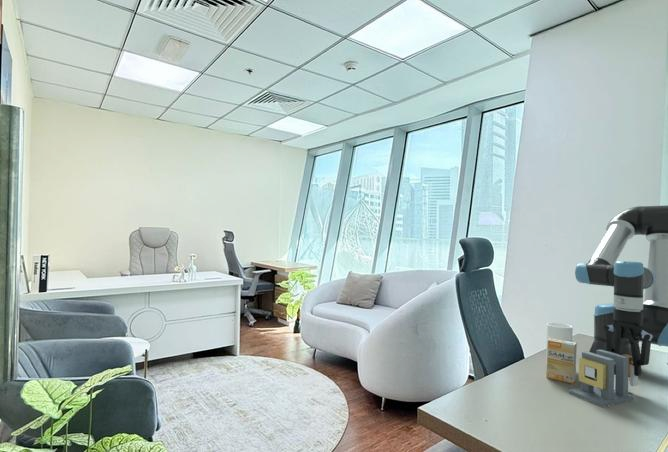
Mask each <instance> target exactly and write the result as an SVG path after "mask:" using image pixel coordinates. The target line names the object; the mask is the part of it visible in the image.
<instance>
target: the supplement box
mask: <svg viewBox="0 0 668 452" xmlns="http://www.w3.org/2000/svg"><path fill="white" fill-rule="evenodd" d="M546 345H547V367H546V373H545V374H546V377H545V378H547V379H551V380H555V381H560V382H565V383H568V384H572V385H574V383H575V382H576V377H577V376H576V374H577V373H576V372H577V371H576V370H577V345H578V343H577V342H574V341H572V342H569V341H564V340H558V339H553V338H549V339H548V344H547V343H546Z"/></svg>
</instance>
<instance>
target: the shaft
mask: <svg viewBox="0 0 668 452" xmlns="http://www.w3.org/2000/svg"><path fill="white" fill-rule="evenodd" d="M623 356H626V357H629V365H628V379H630V365H631V364H632V363H633V359H632V356H630V355H626V354H624V355H623ZM585 375H586V376H589V377H592V378H595V379H596V378H597V369H595V368H591V367H588V366H585ZM614 376H616V361H614Z"/></svg>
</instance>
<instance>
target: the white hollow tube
mask: <svg viewBox="0 0 668 452" xmlns="http://www.w3.org/2000/svg"><path fill="white" fill-rule="evenodd" d="M573 331H574V330H573V325H570V324H566V323H562V322H561V323H559V322H547V323H546V344H545V345H546V350H545V351H546V355H545V357H546V358H545V367H546V368H547V344H548V339H549V338H553V339H558V340H564V341H569V342H573Z"/></svg>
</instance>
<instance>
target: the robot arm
mask: <svg viewBox="0 0 668 452" xmlns="http://www.w3.org/2000/svg"><path fill="white" fill-rule="evenodd" d="M605 229H606V230H605V231H606V232H605V234H604V235H603V238H601V241H600V242H599V244H598V246H597V247H596V249H595V250H594V252H593V254H592V256H591V257H590V259H589V260H588V262H580V263H577V265H576V266H575V268H574V269H575V270H574V274H575V275H574V276H575V280H576V281H577V282H578V283H579V284H580V283H581V284H586V285H593V286H594V285H595V286H603V287H604V286H605V287H613V303H599V304H597V305H595V307H594V314H593V323H594V324H593V342H592V344H591V346H590V349H589V351H588V352H591V353H594V354H596V350H605V351H608V352H612V353H616V354H619V355H624V354H626V355H630V356H632V359H633V363H632V364H631V365H630V378H629V386H631V387H636V386H638V385H639V377H641V375H642V367H643V366H646V365H647V366H648V365H649V364H650V354H651V345H656V346H659V347H668V205H667V204H666V205H647V206H646V205H645V206H643V205H642V206H638V205H637V206H634V207H631V208H627V209H625V210H623V211H621V212H619V213H618V214H616V215H615V216H614V217H612V219H610V221H609V222H608V223H607V224H606V228H605ZM637 235H639V236H645V239H646V240H648V242H649V249H648V250H649V252H648V258H647V259H648V261H647V267H645V266H644V264H643V262H640V261H632V260H631V261H628V260H625V261H624V260H618V258H619V256H620V255H621V253H622V251H623V249H624V248H625V246H626V245H627V242H628V241H629V240H631V239H632V238H634V236H637ZM640 342H641V345H640ZM640 346H641V347H640Z"/></svg>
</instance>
